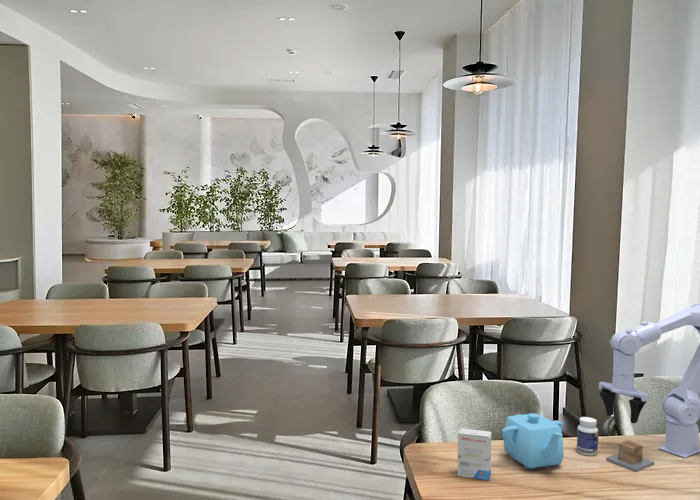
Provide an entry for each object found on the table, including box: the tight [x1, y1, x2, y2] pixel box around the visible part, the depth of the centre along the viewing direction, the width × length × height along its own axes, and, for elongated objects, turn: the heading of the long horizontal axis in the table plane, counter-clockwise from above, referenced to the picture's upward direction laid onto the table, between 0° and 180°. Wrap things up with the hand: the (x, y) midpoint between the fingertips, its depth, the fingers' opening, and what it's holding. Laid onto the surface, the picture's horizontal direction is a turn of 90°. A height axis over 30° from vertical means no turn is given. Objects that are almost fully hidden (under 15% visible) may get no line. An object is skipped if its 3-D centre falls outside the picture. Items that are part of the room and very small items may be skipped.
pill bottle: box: [576, 416, 599, 457], centre depth 174 cm, size 6×6×10 cm
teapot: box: [501, 412, 565, 470], centre depth 167 cm, size 18×16×14 cm
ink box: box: [457, 427, 492, 482], centre depth 159 cm, size 9×5×12 cm, turn 71°
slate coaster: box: [605, 452, 655, 473], centre depth 167 cm, size 9×9×1 cm
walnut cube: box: [617, 439, 644, 464], centre depth 167 cm, size 4×4×4 cm
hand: (621, 418), depth 174 cm, fingers open, 7 cm apart
